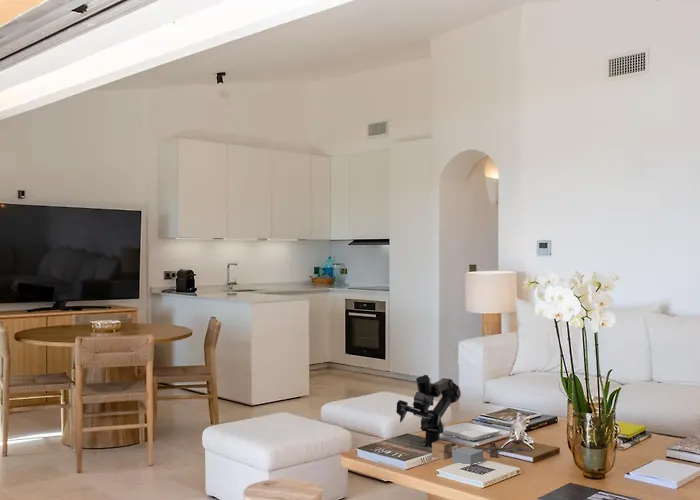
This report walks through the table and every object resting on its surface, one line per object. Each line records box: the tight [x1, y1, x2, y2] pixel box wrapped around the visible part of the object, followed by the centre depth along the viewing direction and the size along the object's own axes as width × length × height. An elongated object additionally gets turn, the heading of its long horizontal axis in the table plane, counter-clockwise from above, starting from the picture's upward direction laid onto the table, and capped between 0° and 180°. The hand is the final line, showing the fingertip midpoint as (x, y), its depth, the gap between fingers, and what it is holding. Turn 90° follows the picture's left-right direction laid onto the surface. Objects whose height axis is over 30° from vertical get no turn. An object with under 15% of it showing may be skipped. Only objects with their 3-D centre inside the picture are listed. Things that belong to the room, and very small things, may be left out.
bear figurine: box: [471, 441, 512, 459], centre depth 304 cm, size 18×4×14 cm
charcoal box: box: [451, 446, 484, 465], centre depth 291 cm, size 9×9×5 cm
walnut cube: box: [431, 439, 453, 461], centre depth 298 cm, size 6×6×6 cm
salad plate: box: [442, 422, 502, 442], centre depth 333 cm, size 21×21×3 cm
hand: (410, 424), depth 294 cm, fingers open, 9 cm apart
